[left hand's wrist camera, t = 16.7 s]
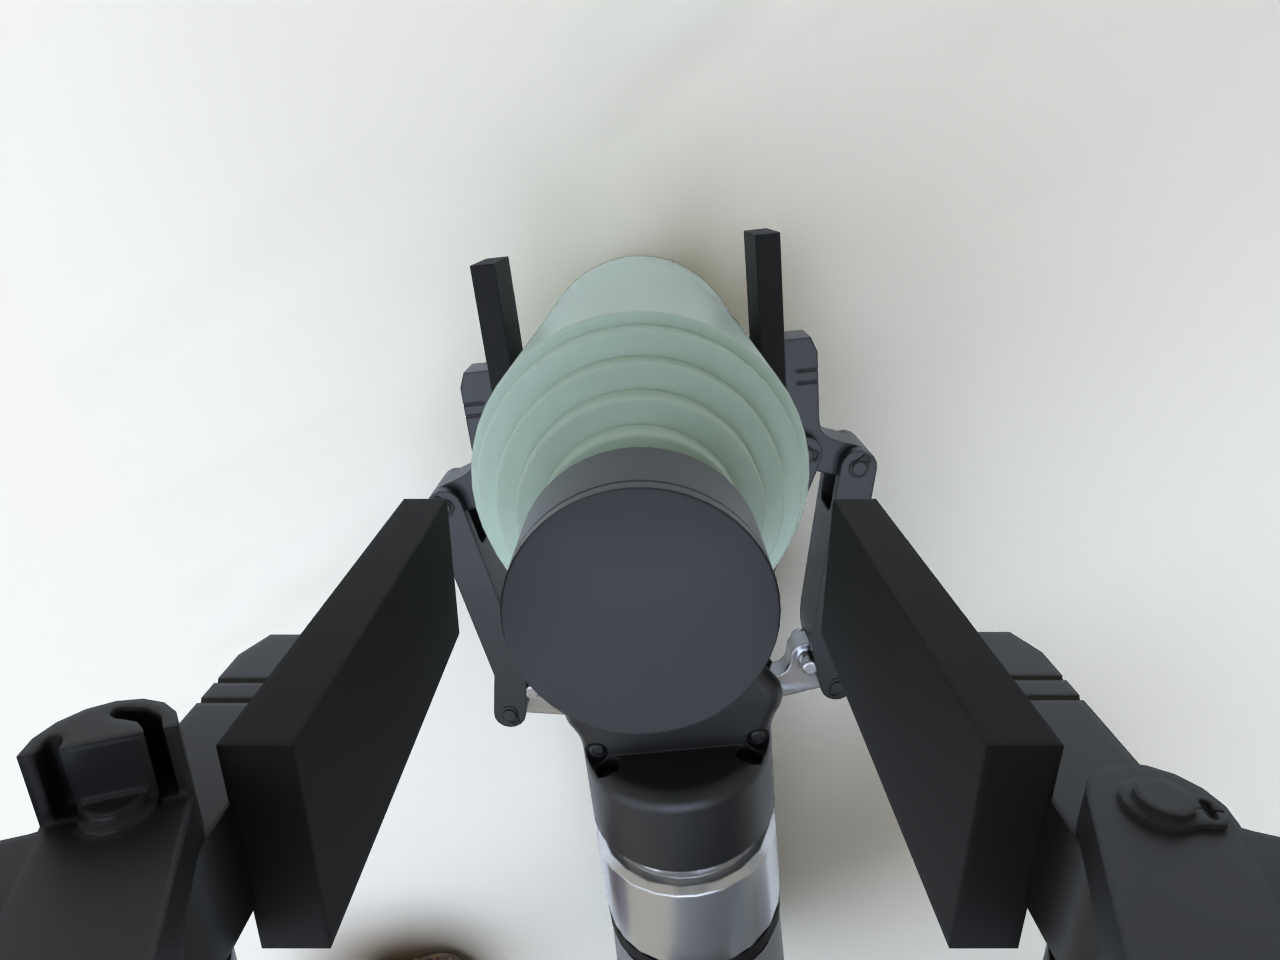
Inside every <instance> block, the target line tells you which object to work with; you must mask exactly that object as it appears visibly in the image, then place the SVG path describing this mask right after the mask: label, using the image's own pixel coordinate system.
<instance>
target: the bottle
mask: <svg viewBox="0 0 1280 960" xmlns="http://www.w3.org/2000/svg"><path fill="white" fill-rule="evenodd" d="M629 447H653V448H660V449H667V450H671V451H675V452H679V453H682V454H685V455H687V456H690V457H692V458H695V459H697V460H699V461H701V462H703V463H705V464H706V465H708V466H710V467H712V468H713V469H715V470H716V471H717V472H718V473H720V474H721V475H722V476H724V477H725V478H726V479H727V480H728V481H729V482H730V483H731V484H732V485H733V486H734V487H735V488H736V489H737V490H738V491H739V493H740V494H741V495H742V497H743V498H744V499H745V501H746V502H747V504H748V506H749V508H750V509H751V511H752V513H753V515H754V518H755V520H756V523H757V526H758V528H759V531H760V534H761V537H762V540H763V542H764V545H765V548H766V551H767V554H768V557H769V559H770V562H771V565H772V568H773V570H774V568H775V567H776V566H777V564H778V563H779V562H780V560H781V558H782V557H783V555H784V553H785V551H786V549H787V548H788V546H789V544H790V542H791V540H792V538H793V536H794V535H795V532H796V530H797V527H798V525H799V522H800V520H801V517H802V514H803V510H804V506H805V502H806V498H807V492H808V482H809V453H808V448H807V442H806V436H805V432H804V429H803V426H802V423H801V419H800V416H799V413H798V411H797V409H796V407H795V405H794V403H793V401H792V399H791V397H790V395H789V393H788V391H787V390H786V388H785V387H784V385H783V384H782V383H781V381H780V380H779V378H778V377H777V375H776V374H775V372H774V371H773V370H772V368H771V367H770V366H769V364H768V363H767V362H766V360H765V359H764V358H763V356H762V355H761V354H760V352H759V351H758V349H757V348H756V347H755V345H754V344H753V343H752V341H751V340H750V339H749V337H748V336H747V335H746V333H745V332H744V331H743V329H742V328H741V326H740V325H739V324H738V322H737V321H736V320H735V318H734V317H733V316H732V314H731V313H730V312H729V310H728V309H727V308H726V306H725V305H724V303H723V302H722V301H721V299H720V298H719V297H718V295H717V294H716V293H715V291H714V290H713V289H712V288H711V287H710V286H709V285H708V284H707V283H706V282H705V281H704V280H703V279H702V278H700V277H699V276H698V275H697V274H695V273H694V272H692V271H691V270H689V269H687V268H686V267H684V266H682V265H679V264H677V263H675V262H672V261H669V260H666V259H662V258H656V257H650V256H631V257H623V258H619V259H615V260H611V261H608V262H606V263H603V264H601V265H598V266H597V267H595V268H593V269H591V270H590V271H588V272H586V273H585V274H584V275H582V276H581V277H580V278H579V279H577V280H576V281H575V282H574V283H573V284H572V285H571V286H570V287H569V288H568V289H567V291H566V292H565V293H564V295H563V296H562V297H561V299H560V300H559V301H558V303H557V304H556V305H555V307H554V308H553V310H552V311H551V312H550V314H549V315H548V316H547V318H546V319H545V320H544V322H543V323H542V325H541V326H540V327H539V329H538V330H537V331H536V333H535V334H534V335H533V337H532V338H531V339H530V341H529V342H528V344H527V345H526V346H525V348H524V349H523V350H522V352H521V353H520V354H519V356H518V357H517V359H516V360H515V361H514V363H513V364H512V365H511V367H510V368H509V369H508V371H507V372H506V374H505V375H504V376H503V378H502V379H501V380H500V382H499V383H498V384H497V386H496V387H495V389H494V391H493V393H492V395H491V396H490V398H489V400H488V402H487V404H486V405H485V408H484V411H483V413H482V416H481V418H480V421H479V424H478V427H477V431H476V435H475V440H474V444H473V452H472V463H471V473H472V489H473V494H474V499H475V504H476V509H477V512H478V515H479V518H480V521H481V524H482V526H483V529H484V531H485V533H486V535H487V537H488V539H489V541H490V543H491V545H492V547H493V548H494V550H495V552H496V554H497V556H498V557H499V559H500V560H501V562H502V563H503V565H504V566H505V568H506V569H507V570H508V567H509V564H510V562H511V559H512V556H513V553H514V550H515V547H516V544H517V541H518V539H519V536H520V533H521V530H522V527H523V525H524V522H525V520H526V517H527V515H528V512H529V511H530V509H531V507H532V505H533V504H534V502H535V500H536V499H537V498H538V496H539V495H540V494H541V492H542V491H543V490H544V489H545V487H546V486H547V485H548V484H550V483H551V482H552V481H553V480H554V479H555V478H556V477H557V476H558V475H560V474H561V473H562V472H564V471H565V470H566V469H568V468H569V467H571V466H572V465H574V464H576V463H578V462H580V461H582V460H584V459H586V458H588V457H591V456H593V455H596V454H599V453H602V452H606V451H610V450H614V449H620V448H629Z"/></svg>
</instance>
